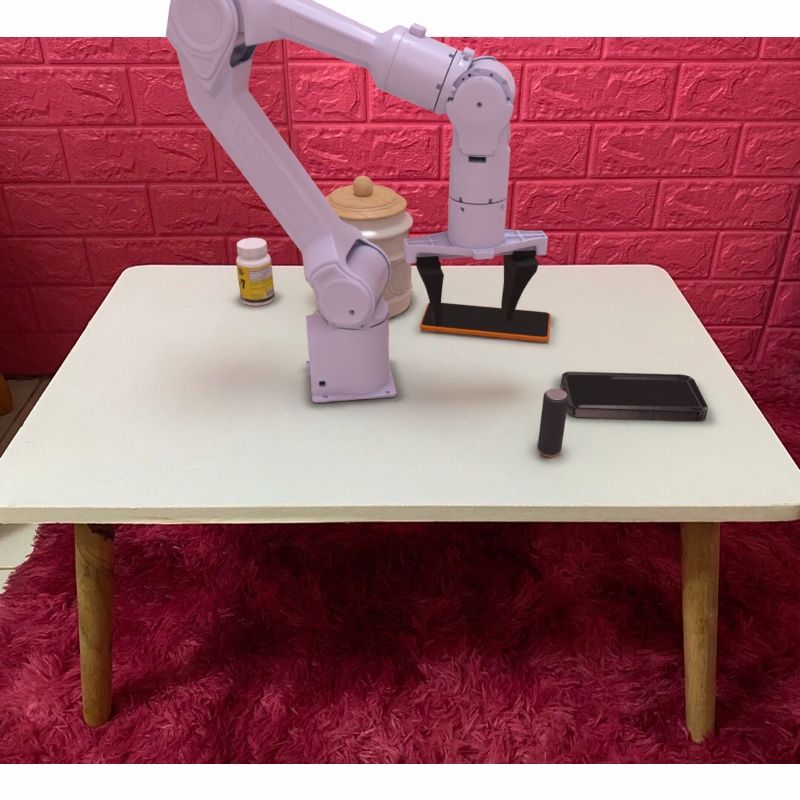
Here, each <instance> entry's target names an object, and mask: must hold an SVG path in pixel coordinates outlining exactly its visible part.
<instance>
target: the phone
mask: <svg viewBox="0 0 800 800" xmlns="http://www.w3.org/2000/svg"><path fill="white" fill-rule="evenodd" d="M560 388H561V390H563V391H565V392H566V393H567V394H568V396H569V399H568V406H567V413H568V415H571V416H572V417H575V418H597V419H598V418H599V419H631V420H633V419H634V420H663V421H664V420H666V421H668V420H670V421H673V420H674V421H704V420H705V419H706V417H707V414H708V412H709V411H708V410H709V406H708V404H707V402H706V400H705V398H704V396H703V394H702V393H701V390H700V388H699V386H698V384H697V383H696V381H695V379H694V378H693V377H691V376H690V375H687V374H682V373H681V374H680V373H679V374H678V373H677V374H676V373H675V374H674V373H643V372H642V373H641V372H640V373H639V372H638V373H637V372H635V373H634V372H605V371H604V372H603V371H601V372H600V371H595V372H594V371H565V372H563V373H562V374H561V379H560Z"/></svg>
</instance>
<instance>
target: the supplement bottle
mask: <svg viewBox="0 0 800 800" xmlns="http://www.w3.org/2000/svg"><path fill="white" fill-rule="evenodd" d="M267 243H268V242H267V241H266V239H263V238H260V237H248V238H242V239H240V240H238V241H237V243H236V252H237V257H236V259H235V264H236V272H237V279H238V287H239V295H240V296H239V297H240V300H241V302H242V303H243V304H245V305H247V306H249V307H250V306H251V307H260V306H264V305H268V304H270V303H272V302H273V301H274V300H275V298H276V297H275V295H276V294H275V286H274V276H273V265H272V258H271V256H270V254H269V253H268V244H267Z"/></svg>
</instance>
